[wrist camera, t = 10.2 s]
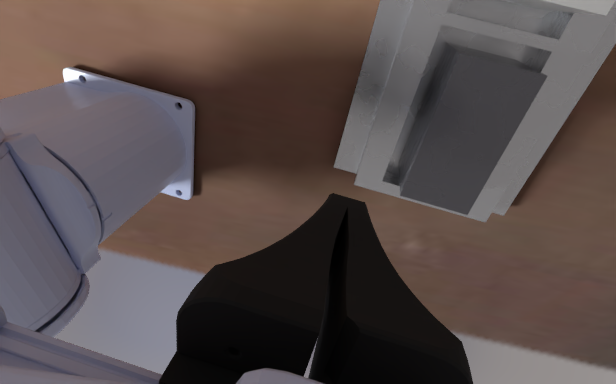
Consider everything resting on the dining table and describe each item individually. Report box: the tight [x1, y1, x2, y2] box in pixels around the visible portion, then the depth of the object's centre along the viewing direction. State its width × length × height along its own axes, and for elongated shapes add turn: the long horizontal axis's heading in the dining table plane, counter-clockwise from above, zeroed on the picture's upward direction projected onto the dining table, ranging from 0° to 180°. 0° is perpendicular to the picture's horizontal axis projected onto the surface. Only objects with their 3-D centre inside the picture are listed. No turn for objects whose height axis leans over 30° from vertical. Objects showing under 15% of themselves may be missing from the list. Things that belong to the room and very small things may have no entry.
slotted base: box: [334, 0, 616, 222], centre depth 15 cm, size 11×19×5 cm, turn 168°
